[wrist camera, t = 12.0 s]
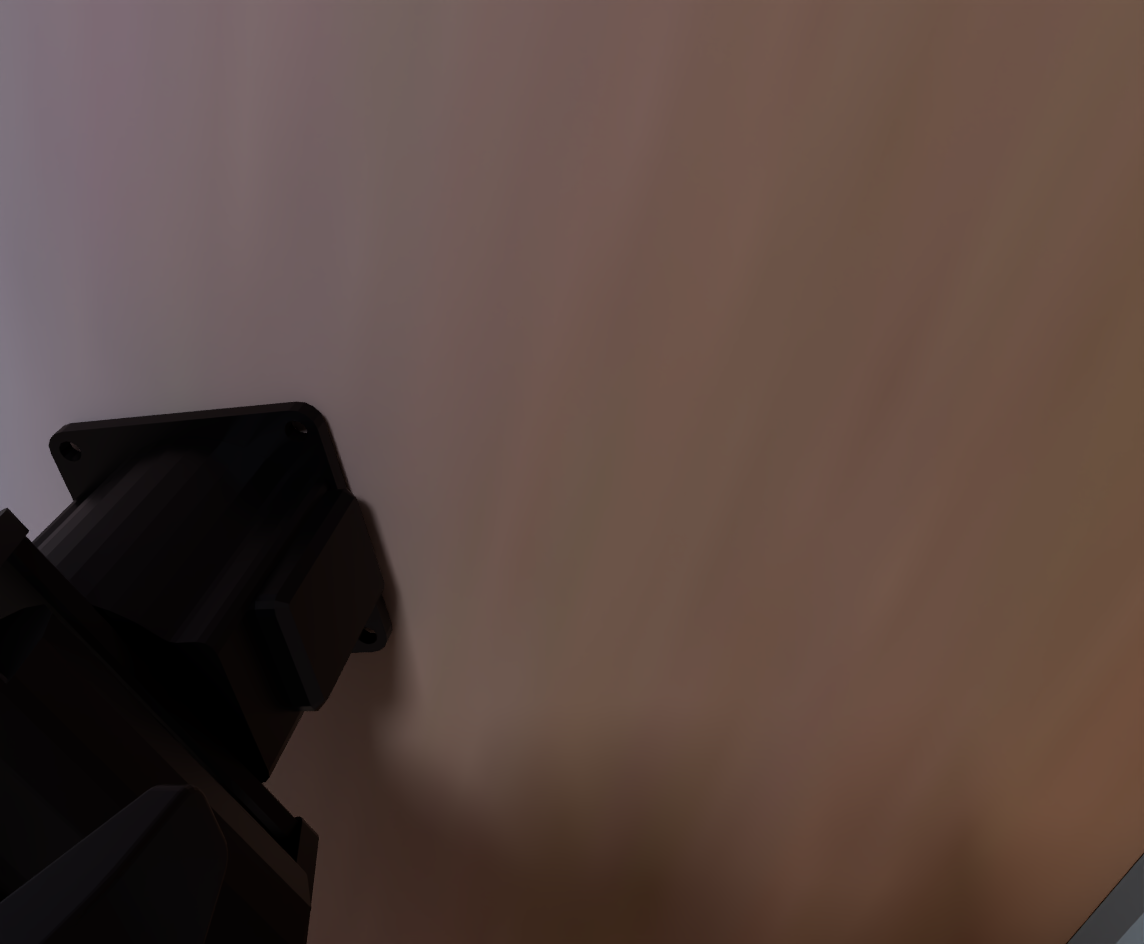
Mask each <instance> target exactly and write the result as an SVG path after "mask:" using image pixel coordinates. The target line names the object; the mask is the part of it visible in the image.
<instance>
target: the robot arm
mask: <svg viewBox="0 0 1144 944" xmlns="http://www.w3.org/2000/svg"><path fill="white" fill-rule="evenodd" d="M292 421H298V422H300V423H301V424H303V425H304V426H305V428H306V429H307V433H303V432H300V431H298V430H297V429H295V427H294V426H293V424H292ZM70 442H72V443H73V444H75V445H77V447H78V448H79V449H80V451H81V452H79V451H77V450H75V449H74V448H73V447H72V446H71V444H70ZM49 448H50V451H51V454H52V456H53V459H54V461H55V463H56V465H57V467H58V469H59V471H60V473H61V475H62V477H63V480H64V482H65V484H66V486H67V488H68V490H69V492H70V494H71V496H72V498H73V502H72V503H71V504H70V505H69V506H68V507H67V508H66V509H65V510H64V511H63V512H62V513H61V514H60V515H59V516H58V517H57V518H56V519H55V520H54V521H53V522H52V523H51V524H50V525H49V526H48V527H47V528H46V529H45V530H44V531H43V532H42V533H41V534H40V535H39V536H38V537H37V538H36V539H35V540H34V541H33V542H31V541H30V540H29V539H28V538H27V537H26V535H27V533H28V532H29V530H28V529H27V528H26V527H25V526H24V525H23V524H22V523H21V522H20V520H19V519H18V518H17V517H16V516H15V515H14V514H13V513H12V512H11V511H10V510H9V509H8V508H5V509H3V510H1V511H0V944H306V943H307V935H308V926H309V917H310V911H311V900H312V892H313V883H314V874H315V866H316V857H317V849H318V840H319V837H318V834H317V833H316V832H315V831H314V830H313V829H312V828H311V827H310V826H309V825H308V824H307V823H306V822H305V821H304V819H303V818H301V817H295V818H294V817H293V816H292V815H291V814H290V812H289V811H288V810H287V809H286V808H285V807H284V806H283V805H282V804H281V803H280V802H279V801H278V800H277V799H276V798H275V797H274V796H273V795H272V794H271V793H270V791H269V790H268V789H267V788H266V787H265V786H264V785H263V784H262V783H263V782H266V781H267V780H268V778H269V777H270V775H271V773H272V771H273V769H274V768H275V766H276V764H277V762H278V760H279V758H280V756H281V754H282V752H283V750H284V749H285V747H286V745H287V743H288V741H289V739H290V737H291V735H292V733H293V731H294V730H295V728H296V726H297V724H298V722H299V720H300V718H301V716H302V714H303V712H304V711H318V710H319V709H320V708H321V707H322V705H323V704H324V703H325V702H326V701H327V699H328V697H329V695H330V693H331V691H332V689H333V687H334V686H335V684H336V682H337V680H338V678H339V676H340V674H341V672H342V670H343V668H344V666H345V664H346V662H347V660H348V658H349V656H350V654H351V653H359V652H375V651H379V650H381V649H382V648H383V647H385V645H386V643H387V640H388V638H389V636H390V634H391V632H392V624H391V621H390V618H389V615H388V612H387V609H386V606H385V603H384V600H383V597H382V594H381V593H382V591H383V589H384V580H383V577H382V574H381V571H380V568H379V565H378V562H377V559H376V556H375V553H374V550H373V547H372V544H371V541H370V537H369V534H368V531H367V528H366V525H365V522H364V519H363V516H362V513H361V510H360V507H359V504H358V501H357V498H356V497H355V496H354V495H353V494H352V493H351V492H350V491H349V490H348V489H347V487H346V484H345V481H344V478H343V475H342V472H341V469H340V466H339V463H338V460H337V457H336V454H335V451H334V448H333V445H332V442H331V439H330V436H329V433H328V430H327V427H326V424H325V421H324V419H323V417H322V415H321V413H320V412H319V411H318V410H317V409H316V408H315V407H313V406H311V405H309V404H307V403H305V402H288V403H277V404H267V405H256V406H246V407H235V408H225V409H214V410H204V411H194V412H183V413H173V414H162V415H152V416H141V417H131V418H121V419H110V420H100V421H89V422H79V423H70V424H67V425H64V426H63V427H62V428H61V429H60V430H59V431H57V432H56V433H55V434H54V435H53V436H52V437H51V439H50V442H49ZM364 627H368V628H370V629H372V630H374V632H375V633H370V632H368V631H366V630H365V629H364Z"/></svg>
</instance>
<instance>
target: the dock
mask: <svg viewBox="0 0 1144 944" xmlns="http://www.w3.org/2000/svg"><path fill="white" fill-rule="evenodd" d="M1067 944H1144V854H1143V856H1142V857H1141V858H1140V859H1139V860H1138V861H1137V863H1136V864H1135V865H1134V866H1133V867H1132V869H1131V870H1130V871H1129V872H1128V873H1127V874H1126V876H1125V877H1124V878H1123V879H1122V880H1121V881H1120V883H1119V884H1118V885H1117V886H1116V887H1115V888H1114V890H1113V891H1112V892H1111V893H1110V894H1109V895H1108V897H1107V898H1106V899H1105V900H1104V901H1103V902H1102V904H1101V905H1100V906H1099V907H1098V908H1097V909H1096V911H1095V912H1094V913H1093V914H1092V915H1091V917H1090V918H1089V919H1088V920H1087V921H1086V922H1085V924H1084V925H1083V926H1082V927H1081V928H1080V929H1079V931H1078V932H1077V933H1076V934H1075V935H1074V936H1073V938H1072V939H1071V940H1070V941H1069V942H1068V943H1067Z"/></svg>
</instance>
